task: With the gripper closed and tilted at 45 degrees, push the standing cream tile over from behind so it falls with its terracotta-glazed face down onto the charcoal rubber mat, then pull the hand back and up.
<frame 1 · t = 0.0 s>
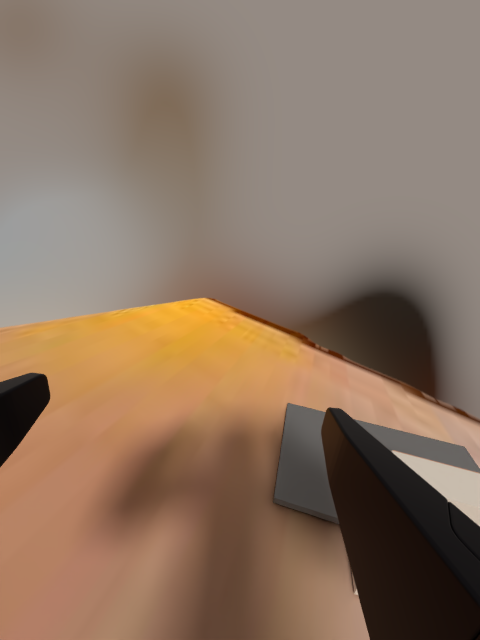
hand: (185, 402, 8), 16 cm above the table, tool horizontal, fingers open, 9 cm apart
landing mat: (381, 472, 26), on the table
glazed tile: (414, 594, 18), on the table
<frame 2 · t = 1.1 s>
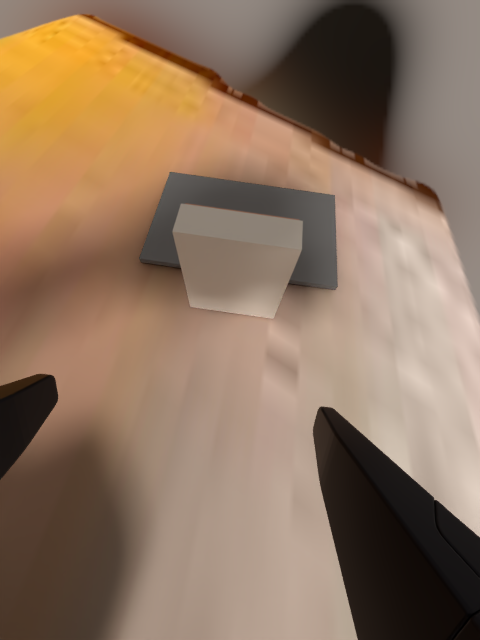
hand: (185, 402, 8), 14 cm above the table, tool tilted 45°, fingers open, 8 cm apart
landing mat: (245, 227, 30), on the table
glazed tile: (233, 301, 26), on the table
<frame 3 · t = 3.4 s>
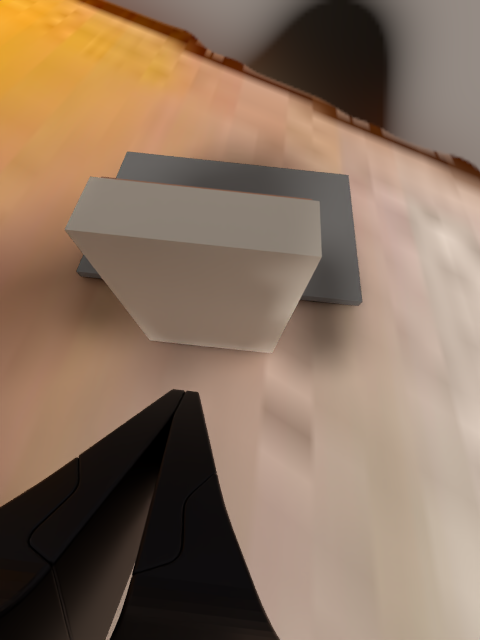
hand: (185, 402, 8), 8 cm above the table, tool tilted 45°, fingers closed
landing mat: (229, 222, 22), on the table
glazed tile: (213, 329, 18), on the table
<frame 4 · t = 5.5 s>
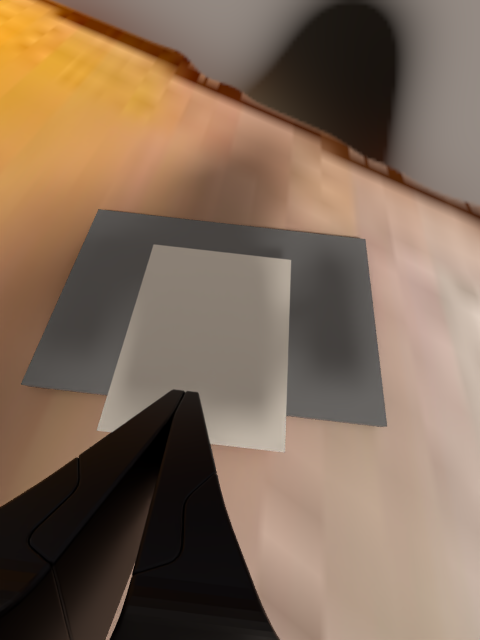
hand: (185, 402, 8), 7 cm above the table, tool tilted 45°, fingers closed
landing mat: (219, 304, 18), on the table
glazed tile: (193, 441, 12), point 2 cm above the table, tilted 90°, touching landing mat
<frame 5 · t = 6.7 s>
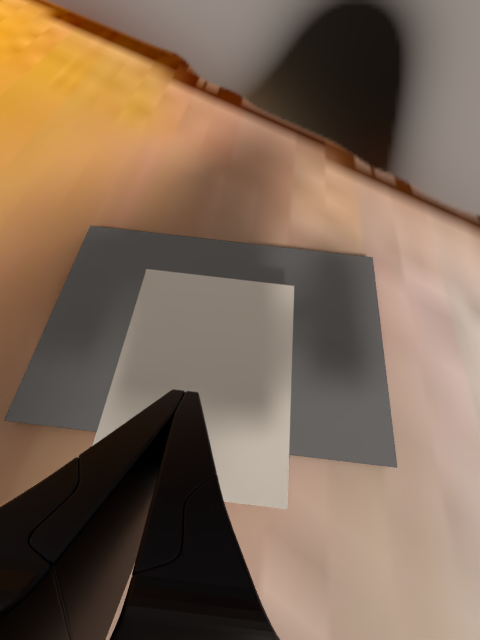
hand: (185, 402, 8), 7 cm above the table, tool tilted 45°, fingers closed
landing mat: (218, 329, 17), on the table
glazed tile: (188, 490, 11), point 2 cm above the table, tilted 90°, touching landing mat
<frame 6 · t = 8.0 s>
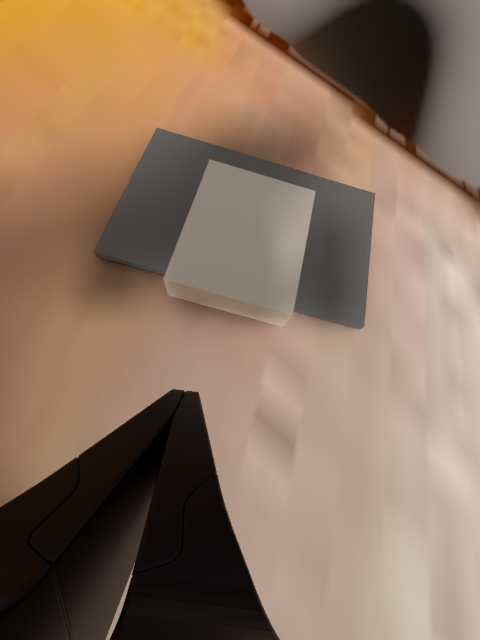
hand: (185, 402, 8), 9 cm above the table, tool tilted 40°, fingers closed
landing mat: (250, 223, 22), on the table
glazed tile: (227, 304, 17), point 2 cm above the table, tilted 90°, touching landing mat
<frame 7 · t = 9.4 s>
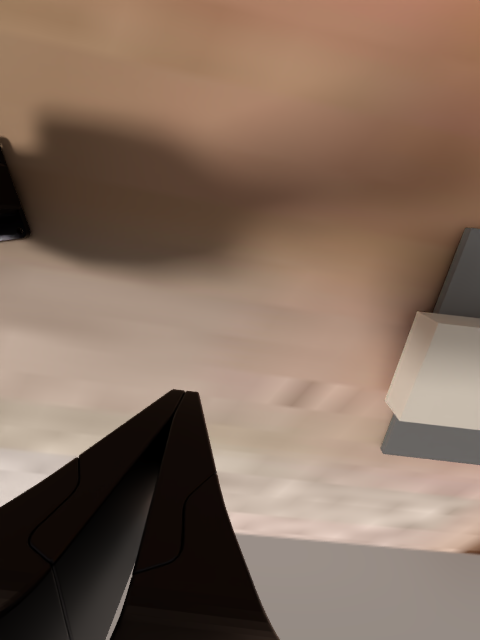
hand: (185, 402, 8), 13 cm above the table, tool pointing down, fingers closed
glazed tile: (408, 366, 20), point 2 cm above the table, tilted 90°, touching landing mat
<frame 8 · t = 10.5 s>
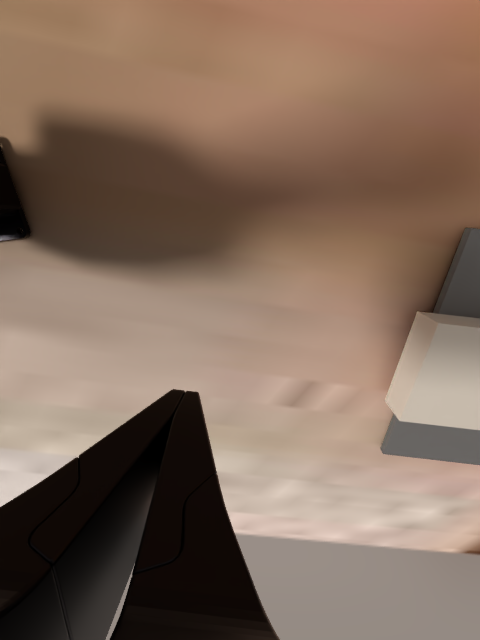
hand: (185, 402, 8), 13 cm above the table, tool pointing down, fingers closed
glazed tile: (408, 367, 20), point 2 cm above the table, tilted 90°, touching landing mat
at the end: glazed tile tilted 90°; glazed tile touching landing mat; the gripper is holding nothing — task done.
